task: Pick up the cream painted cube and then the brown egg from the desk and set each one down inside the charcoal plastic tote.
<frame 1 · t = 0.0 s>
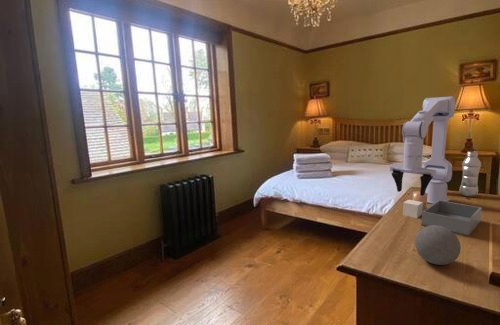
hand: (410, 193, 103), 10 cm above the table, tool pointing down, fingers open, 7 cm apart
decorative ball: (435, 262, 76), on the table
tote: (451, 223, 100), on the table
plastic bottle: (468, 196, 128), on the table
brown egg: (419, 210, 113), on the table
syrup box: (429, 192, 136), on the table
cube: (412, 214, 109), on the table
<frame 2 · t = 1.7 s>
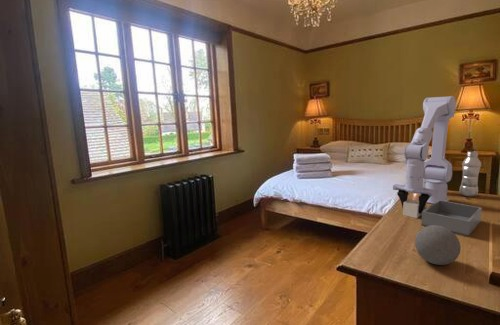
hand: (412, 211, 109), 1 cm above the table, tool pointing down, fingers closed on cube, 5 cm apart
cube: (412, 214, 109), on the table, touching gripper
everything else where it was.
when the fingers open (4 cm above the table, at t = 5.3 s): cube drops 2 cm, resting on tote.
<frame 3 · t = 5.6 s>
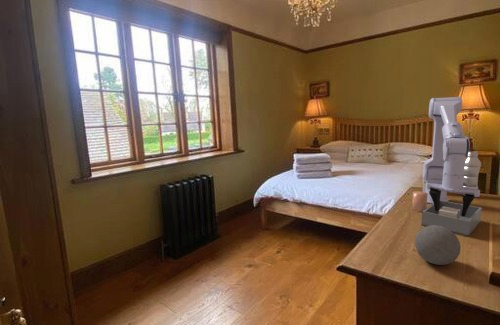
hand: (450, 212, 97), 5 cm above the table, tool pointing down, fingers open, 7 cm apart
cube: (448, 223, 98), point 1 cm above the table, touching tote
everything else where it was.
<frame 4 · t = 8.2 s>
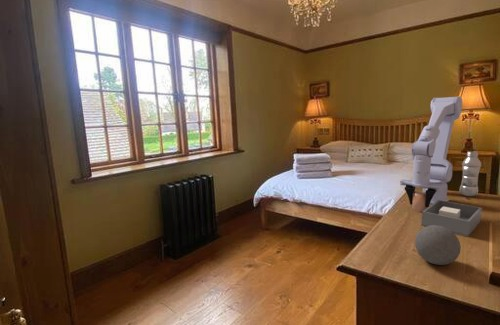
hand: (419, 205, 113), 2 cm above the table, tool pointing down, fingers closed on brown egg, 5 cm apart
brown egg: (419, 210, 113), on the table, touching gripper
everything else where it was.
when the fingers open (6 cm above the table, at t = 11.5 s): brown egg drops 3 cm, resting on tote.
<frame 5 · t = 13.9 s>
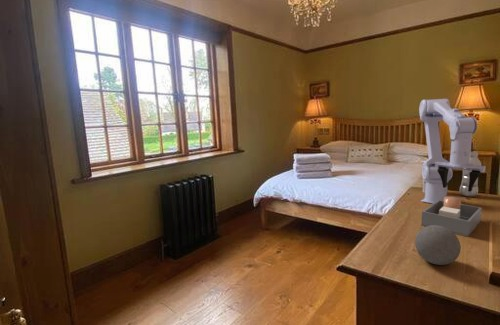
hand: (457, 188, 104), 10 cm above the table, tool pointing down, fingers open, 7 cm apart
brown egg: (451, 217, 103), point 1 cm above the table, touching tote
everything else where it was.
at the end: cube inside the target area on the tote (2.7 cm from its centre), point 0.6 cm above the tote's base; brown egg inside the target area on the tote (4.8 cm from its centre), point 0.6 cm above the tote's base; the gripper is holding nothing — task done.
